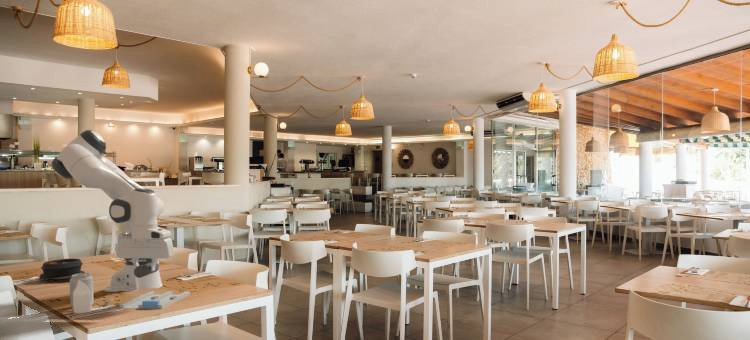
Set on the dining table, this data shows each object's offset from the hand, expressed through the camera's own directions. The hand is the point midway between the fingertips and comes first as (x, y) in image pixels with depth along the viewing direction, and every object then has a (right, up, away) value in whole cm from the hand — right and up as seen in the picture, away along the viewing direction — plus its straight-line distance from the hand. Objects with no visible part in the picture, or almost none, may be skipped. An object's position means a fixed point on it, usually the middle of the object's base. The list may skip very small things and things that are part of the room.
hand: (145, 270), depth 189 cm
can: (-23, -13, -1) cm, 26 cm away
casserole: (-63, -15, +54) cm, 84 cm away
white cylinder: (-17, -13, -11) cm, 24 cm away
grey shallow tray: (+4, -12, +1) cm, 13 cm away
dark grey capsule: (-1, -2, +1) cm, 2 cm away
